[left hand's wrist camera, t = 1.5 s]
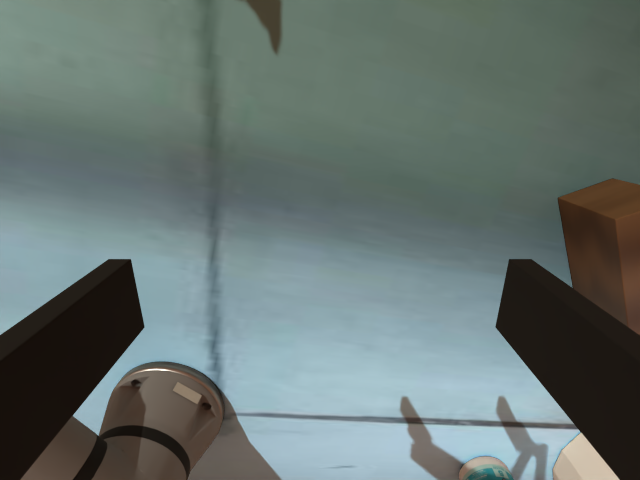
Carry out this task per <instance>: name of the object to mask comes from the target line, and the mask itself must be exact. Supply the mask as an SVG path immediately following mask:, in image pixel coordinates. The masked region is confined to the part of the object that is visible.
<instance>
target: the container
mask: <svg viewBox="0 0 640 480" xmlns="http://www.w3.org/2000/svg"><path fill="white" fill-rule="evenodd" d="M553 477H554V480H619V478H618V477H617V476H616V475H615V473H614V472H613V471H612V470H611V468H610V467H609V466H608V465H607V464H606V462H605V461H604V460H603V459H602V457H601V456H600V455H599V454H598V453H597V451H596V450H595V449H594V448H593V446H592V445H591V444H590V443H589V441H588V440H587V439H586V438H585V437H584V435H583V434H582V433H580V434H579V435H578V436H577V437H575V438H574V439H573V440H572V441H571V442H570V443H569V444H568V445H567V446H566V447H565V448H564V449H562V451H561V453H560V455H559V457H558V459H557V461H556V464H555V466H554V468H553Z"/></svg>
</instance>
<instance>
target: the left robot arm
mask: <svg viewBox="0 0 640 480" xmlns="http://www.w3.org/2000/svg"><path fill="white" fill-rule="evenodd" d="M143 328H144V322H143V317H142V313H141V308H140V303H139V298H138V293H137V288H136V283H135V278H134V273H133V268H132V263H131V259H108V260H107V261H106V262H104V263H103V264H101V265H100V266H98V267H97V268H96V269H94V270H93V271H91V272H90V273H88V274H87V275H86V276H84V277H83V278H81V279H80V280H78V281H77V282H76V283H74V284H73V285H71V286H70V287H68V288H67V289H66V290H64V291H63V292H61V293H60V294H58V295H57V296H56V297H54V298H53V299H51V300H50V301H48V302H47V303H46V304H44V305H43V306H41V307H40V308H38V309H37V310H36V311H34V312H33V313H31V314H30V315H28V316H27V317H26V318H24V319H23V320H21V321H20V322H18V323H17V324H16V325H14V326H13V327H11V328H10V329H8V330H7V331H6V332H4V333H3V334H1V335H0V480H187V479H188V476H189V474H190V471H191V469H192V468H193V467H194V465H195V464H196V463H197V461H198V460H199V459H200V458H201V456H202V455H203V454H204V452H205V451H206V450H207V448H208V447H209V446H210V444H211V443H212V442H213V440H214V439H215V437H216V436H217V434H218V432H219V430H220V427H221V424H222V421H223V417H224V402H223V399H222V396H221V394H220V392H219V391H218V389H217V388H216V386H215V385H214V384H213V383H212V382H211V381H210V380H209V379H208V378H207V377H206V376H204V375H203V374H201V373H200V372H198V371H196V370H194V369H192V368H190V367H188V366H185V365H182V364H178V363H172V362H151V363H146V364H143V365H140V366H137V367H135V368H133V369H132V370H130V371H129V372H128V373H126V374H125V375H124V376H123V377H122V379H121V380H120V381H119V383H118V384H117V385H116V387H115V388H114V390H113V392H112V394H111V396H110V399H109V402H108V405H107V409H106V412H105V416H104V419H103V422H102V426H101V429H100V433H99V436H98V435H97V434H96V433H94V432H93V431H92V430H90V429H89V428H88V427H86V426H85V425H84V424H82V423H81V422H80V421H78V420H77V419H76V418H74V417H73V414H74V413H75V412H76V411H77V409H78V408H79V407H80V406H81V405H82V403H83V402H84V401H85V400H86V398H87V397H88V396H89V395H90V393H91V392H92V391H93V390H94V389H95V387H96V386H97V385H98V384H99V382H100V381H101V380H102V379H103V378H104V376H105V375H106V374H107V373H108V371H109V370H110V369H111V368H112V366H113V365H114V364H115V363H116V362H117V360H118V359H119V358H120V357H121V355H122V354H123V353H124V352H125V350H126V349H127V348H128V347H129V346H130V344H131V343H132V342H133V341H134V339H135V338H136V337H137V336H138V334H139V333H140V332H141V331H142V330H143ZM496 328H497V330H498V331H499V332H500V333H501V334H502V336H503V337H504V338H505V339H506V341H507V342H508V343H509V344H510V346H511V347H512V348H513V349H514V350H515V352H516V353H517V354H518V355H519V357H520V358H521V359H522V360H523V362H524V363H525V364H526V365H527V366H528V368H529V369H530V370H531V371H532V373H533V374H534V375H535V376H536V378H537V379H538V380H539V381H540V382H541V384H542V385H543V386H544V387H545V389H546V390H547V391H548V392H549V393H550V395H551V396H552V397H553V398H554V400H555V401H556V402H557V403H558V405H559V406H560V407H561V408H562V409H563V411H564V412H565V413H566V414H567V416H568V417H569V418H570V419H571V421H572V422H573V423H574V424H575V425H576V427H577V428H578V429H579V430H580V432H581V433H582V434H583V435H584V437H585V438H586V439H587V440H588V441H589V443H590V444H591V445H592V446H593V448H594V449H595V450H596V451H597V453H598V454H599V455H600V456H601V457H602V459H603V460H604V461H605V462H606V464H607V465H608V466H609V467H610V468H611V470H612V471H613V472H614V473H615V475H616V476H617V477H618V478H619V480H640V335H639V334H637V333H636V332H634V331H633V330H632V329H630V328H629V327H627V326H626V325H624V324H623V323H622V322H620V321H619V320H617V319H616V318H614V317H613V316H612V315H610V314H609V313H607V312H606V311H604V310H603V309H602V308H600V307H599V306H597V305H596V304H594V303H593V302H592V301H590V300H589V299H587V298H586V297H584V296H583V295H582V294H580V293H579V292H577V291H576V290H574V289H573V288H572V287H570V286H569V285H567V284H566V283H564V282H563V281H562V280H560V279H559V278H557V277H556V276H554V275H553V274H552V273H550V272H549V271H547V270H546V269H544V268H543V267H542V266H540V265H539V264H537V263H536V262H534V261H533V260H532V259H509V263H508V268H507V273H506V278H505V283H504V288H503V293H502V298H501V303H500V308H499V313H498V317H497V322H496Z"/></svg>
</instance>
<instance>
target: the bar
mask: <svg viewBox="0 0 640 480" xmlns="http://www.w3.org/2000/svg"><path fill="white" fill-rule="evenodd" d="M558 202H559V208H560V213H561V219H562V225H563V231H564V237H565V243H566V249H567V255H568V260H569V266H570V272H571V278H572V284H573V289H574V290H576V291H577V292H579V293H580V294H582V295H583V296H584V297H586V298H587V299H589V300H590V301H592V302H593V303H594V304H596V305H597V306H599V307H600V308H602V309H603V310H604V311H606V312H607V313H609V314H610V315H612V316H613V317H614V318H616V319H617V320H619V321H620V322H622V323H623V324H624V325H626V326H627V327H629V328H630V329H632V330H633V331H634V332H636V333H637V334H639V335H640V185H638V184H634V183H629V182H625V181H621V180H617V179H609V180H606V181H604V182H601V183H598V184H595V185H592V186H590V187H587V188H584V189H581V190H578V191H575V192H573V193H570V194H567V195H564V196H561V197H559V198H558Z"/></svg>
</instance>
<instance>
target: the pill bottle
mask: <svg viewBox="0 0 640 480" xmlns="http://www.w3.org/2000/svg"><path fill="white" fill-rule="evenodd" d="M459 480H514V479H513V477H512V475H511V473H510V472H509V470H508V468H507V466H506V465H505V464H504V463H503V462H502V461H500V460H499V459H497V458H494V457H489V456H482V457H477V458H474V459H471V460H470V461H468V462H467V463H465V464H464V465H463V467H462V468H461V470H460V473H459Z"/></svg>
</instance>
